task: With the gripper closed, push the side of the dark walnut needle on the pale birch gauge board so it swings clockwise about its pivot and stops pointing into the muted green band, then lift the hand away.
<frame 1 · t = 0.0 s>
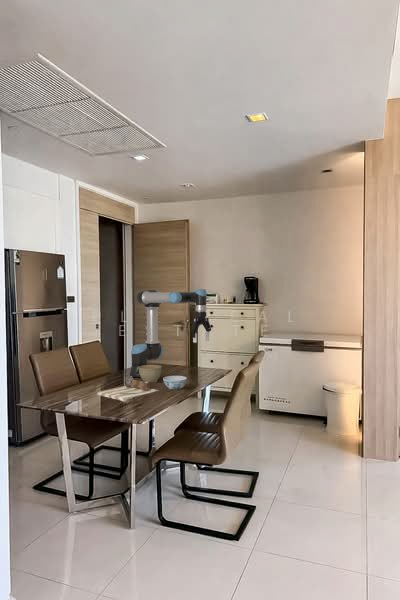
hand: (201, 341, 287), 28 cm above the table, fingers open, 13 cm apart
gauge needle: (137, 383, 261), point 5 cm above the table, hinge at 0.0°
planter bowl: (150, 382, 287), on the table
chinaware: (175, 390, 262), on the table
gauge board: (129, 389, 266), on the table
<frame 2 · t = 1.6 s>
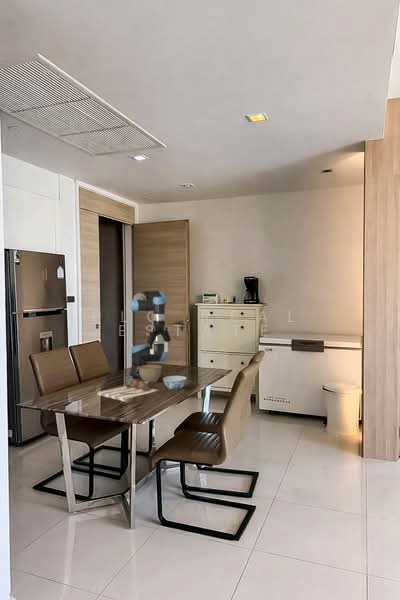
hand: (159, 352, 269), 23 cm above the table, fingers open, 13 cm apart
nothing on the table moved.
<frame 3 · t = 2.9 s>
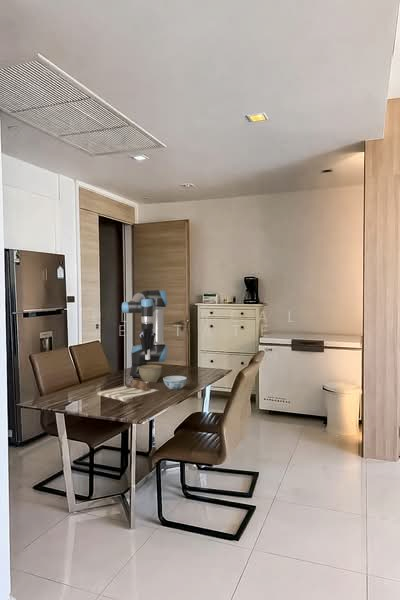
hand: (147, 359, 264), 19 cm above the table, fingers closed
nothing on the table moved.
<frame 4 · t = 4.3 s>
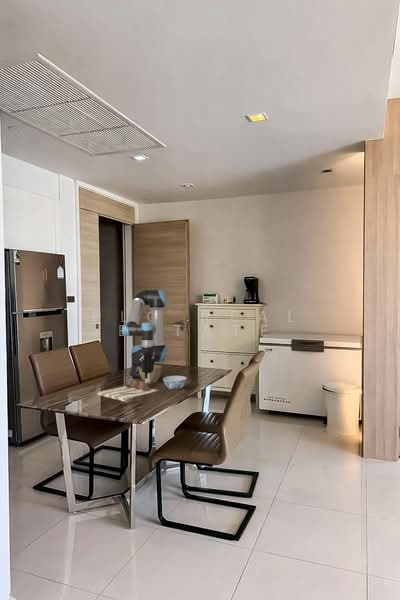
hand: (147, 383, 264), 4 cm above the table, fingers closed
nothing on the table moved.
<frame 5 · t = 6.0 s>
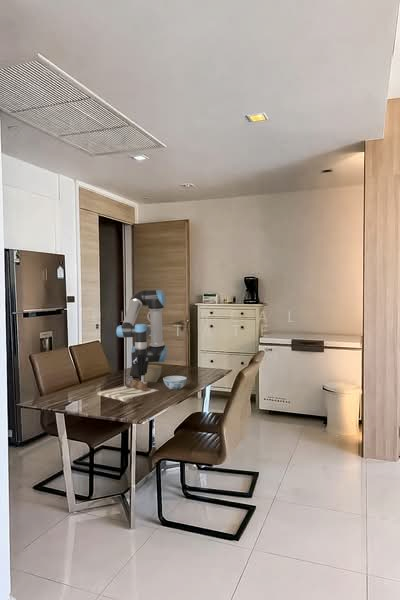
hand: (141, 385, 260), 4 cm above the table, fingers closed
gauge needle: (136, 383, 261), point 5 cm above the table, hinge at -5.0°, touching gripper
everything else where it was.
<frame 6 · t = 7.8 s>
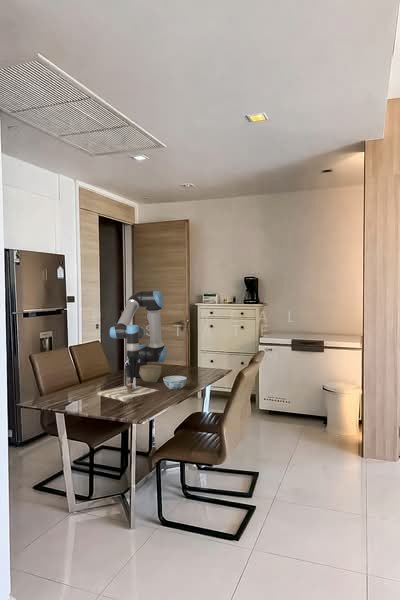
hand: (133, 387, 255), 3 cm above the table, fingers closed
gauge needle: (129, 384, 258), point 5 cm above the table, hinge at -42.2°, touching gripper
everything else where it was.
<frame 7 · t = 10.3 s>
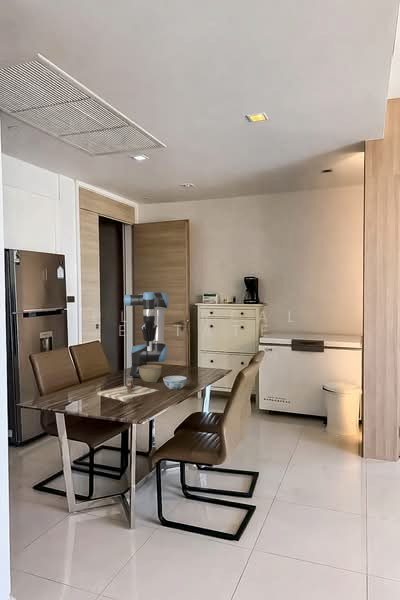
hand: (149, 350, 272), 24 cm above the table, fingers closed
gauge needle: (129, 384, 258), point 5 cm above the table, hinge at -42.2°
everything else where it was.
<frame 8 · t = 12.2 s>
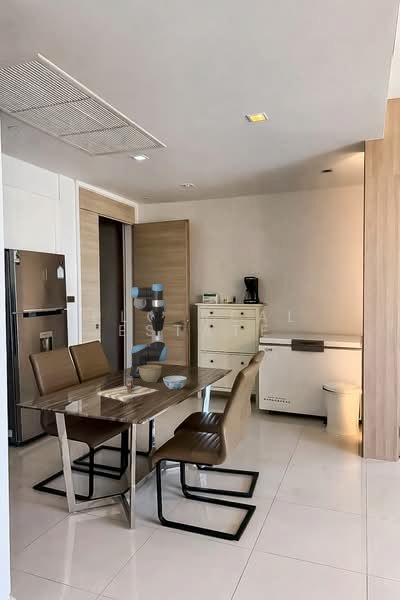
hand: (158, 340, 284), 29 cm above the table, fingers closed
nothing on the table moved.
at the end: gauge needle at -42° (first picture: +0°); the gripper is holding nothing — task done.
